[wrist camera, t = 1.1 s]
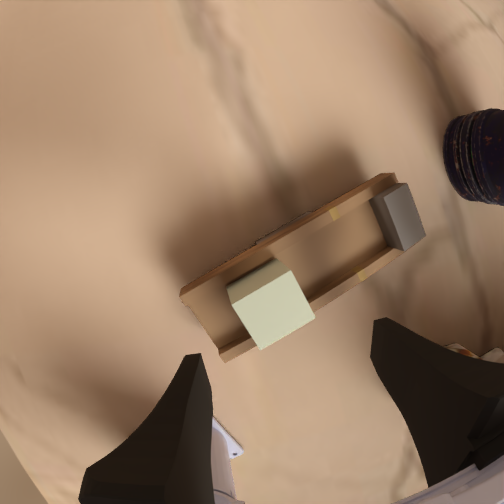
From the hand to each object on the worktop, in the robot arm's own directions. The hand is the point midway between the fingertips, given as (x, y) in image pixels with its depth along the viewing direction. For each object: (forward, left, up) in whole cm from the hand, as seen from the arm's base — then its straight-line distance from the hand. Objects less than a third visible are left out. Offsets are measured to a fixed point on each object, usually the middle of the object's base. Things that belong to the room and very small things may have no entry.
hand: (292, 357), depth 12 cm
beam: (+4, -1, -14) cm, 14 cm away
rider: (0, -1, -10) cm, 10 cm away
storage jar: (+27, -2, -14) cm, 31 cm away
